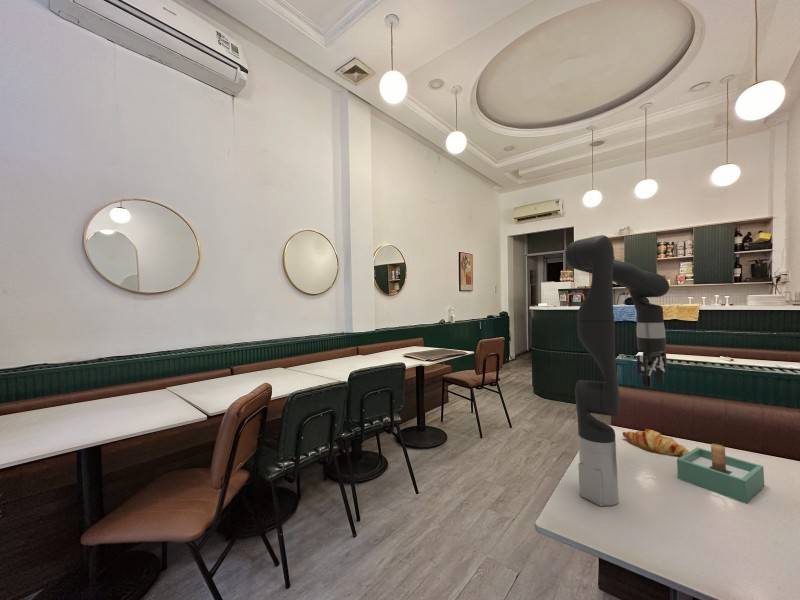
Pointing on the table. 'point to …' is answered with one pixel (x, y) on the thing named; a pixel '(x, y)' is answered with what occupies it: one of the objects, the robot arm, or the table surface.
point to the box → (722, 475)
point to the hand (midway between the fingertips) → (653, 384)
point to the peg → (718, 457)
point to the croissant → (655, 442)
